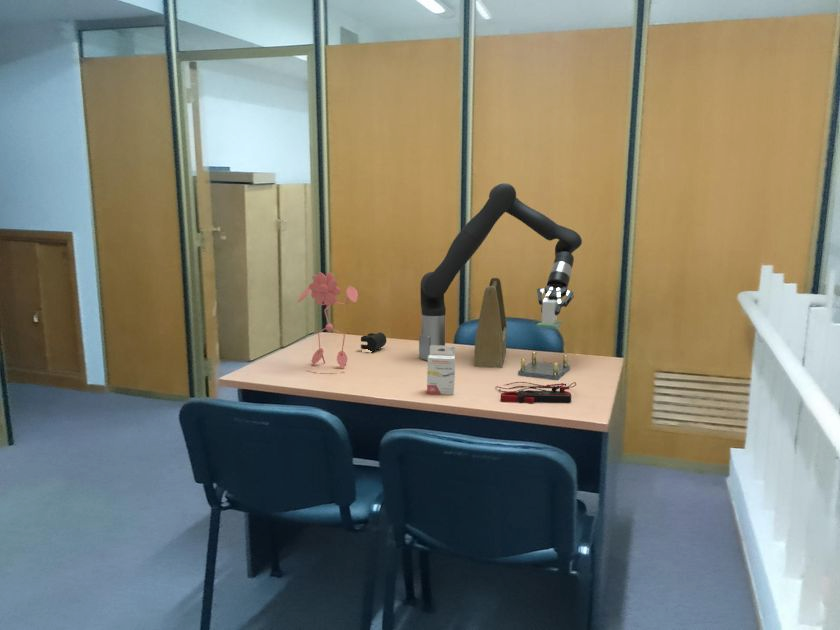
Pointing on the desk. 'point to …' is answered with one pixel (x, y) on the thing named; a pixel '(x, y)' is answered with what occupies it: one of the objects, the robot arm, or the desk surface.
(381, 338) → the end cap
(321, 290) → the figurine
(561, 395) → the digital clamp meter
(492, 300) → the caddy
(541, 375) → the standoff chassis
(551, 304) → the board module
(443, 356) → the ink cartridge box
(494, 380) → the desk surface
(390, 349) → the desk surface
